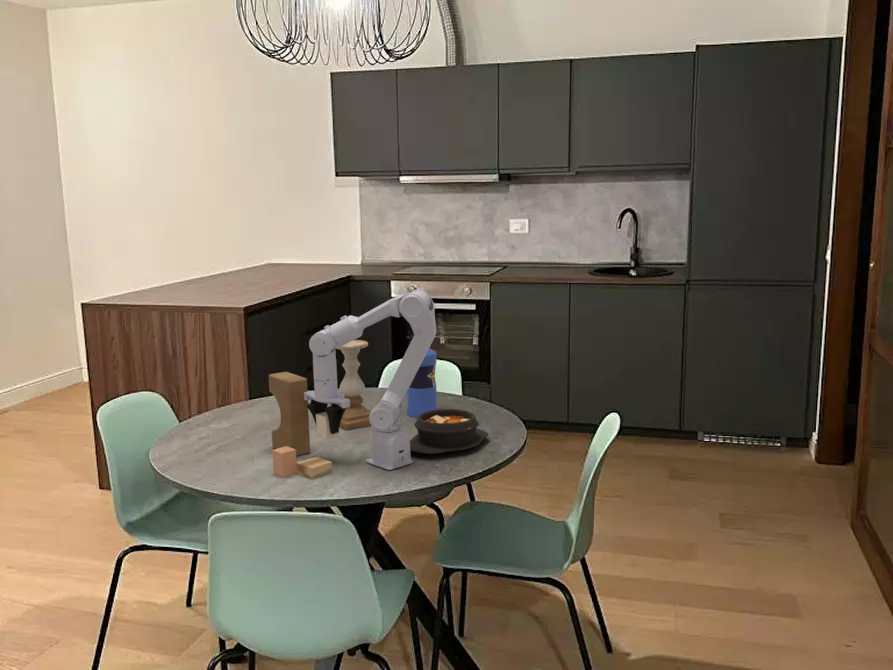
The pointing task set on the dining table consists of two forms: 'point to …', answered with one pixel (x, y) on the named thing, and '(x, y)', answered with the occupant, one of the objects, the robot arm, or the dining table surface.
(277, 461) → the terracotta cube
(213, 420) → the dining table surface
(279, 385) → the decorative block
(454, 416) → the casserole
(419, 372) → the water bottle
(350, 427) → the candle holder
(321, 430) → the cream cube
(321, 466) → the oak block
